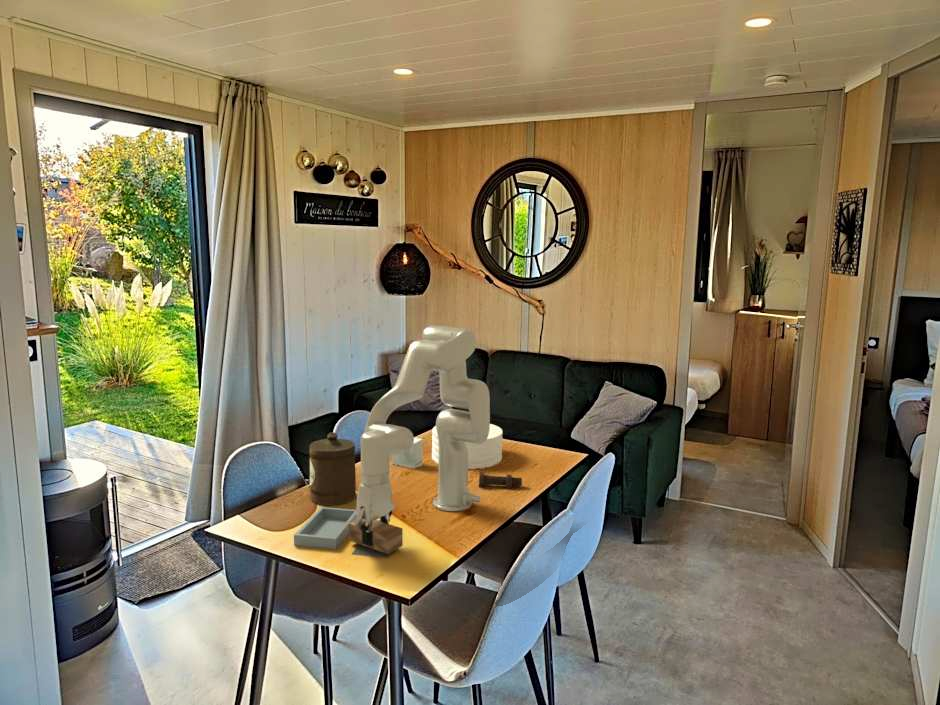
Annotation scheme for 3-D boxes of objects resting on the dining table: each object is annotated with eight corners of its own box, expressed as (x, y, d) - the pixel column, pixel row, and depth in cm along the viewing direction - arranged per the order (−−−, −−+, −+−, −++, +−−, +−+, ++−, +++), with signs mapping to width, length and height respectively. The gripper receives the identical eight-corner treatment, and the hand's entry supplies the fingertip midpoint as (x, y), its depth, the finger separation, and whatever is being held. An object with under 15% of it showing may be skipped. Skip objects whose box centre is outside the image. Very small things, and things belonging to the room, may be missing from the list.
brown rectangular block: (402, 545, 178) (402, 528, 177) (388, 554, 173) (388, 536, 172) (363, 532, 185) (363, 516, 184) (349, 540, 180) (348, 523, 179)
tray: (359, 522, 197) (359, 510, 196) (336, 552, 177) (335, 538, 177) (321, 519, 199) (321, 506, 198) (294, 548, 179) (293, 534, 179)
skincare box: (391, 465, 250) (391, 438, 248) (400, 460, 256) (400, 434, 254) (414, 469, 245) (414, 442, 244) (423, 464, 251) (423, 438, 249)
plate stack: (475, 443, 280) (476, 417, 279) (515, 461, 258) (516, 433, 256) (418, 453, 265) (419, 426, 263) (456, 474, 242) (457, 444, 240)
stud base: (397, 544, 183) (397, 531, 182) (387, 561, 173) (387, 547, 173) (362, 541, 184) (362, 528, 184) (351, 557, 175) (351, 543, 174)
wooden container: (320, 487, 225) (319, 425, 222) (361, 491, 223) (361, 428, 219) (302, 503, 211) (301, 437, 207) (346, 507, 208) (345, 441, 205)
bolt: (521, 493, 229) (478, 490, 229) (521, 482, 233) (479, 479, 233) (522, 482, 225) (479, 479, 226) (522, 471, 229) (479, 468, 230)
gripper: (385, 465, 185) (385, 525, 188) (342, 483, 171) (343, 548, 174) (406, 471, 181) (406, 532, 184) (363, 490, 167) (364, 555, 170)
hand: (375, 539), depth 179 cm, fingers closed on brown rectangular block, 6 cm apart
